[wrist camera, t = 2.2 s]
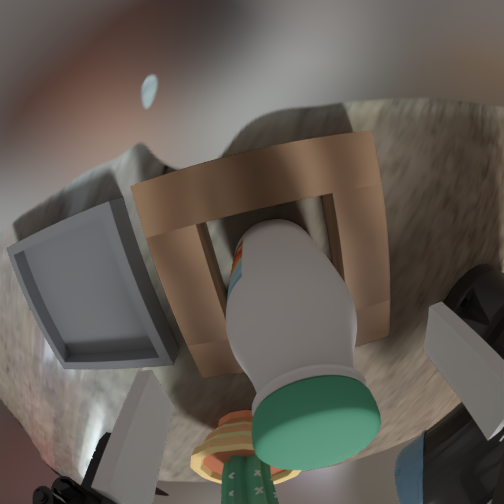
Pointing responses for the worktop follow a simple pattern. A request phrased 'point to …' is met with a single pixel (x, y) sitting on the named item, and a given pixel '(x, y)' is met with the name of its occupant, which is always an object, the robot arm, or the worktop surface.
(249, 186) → the block
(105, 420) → the worktop surface
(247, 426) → the potted cactus
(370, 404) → the milk bottle
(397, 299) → the worktop surface
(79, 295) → the tray
